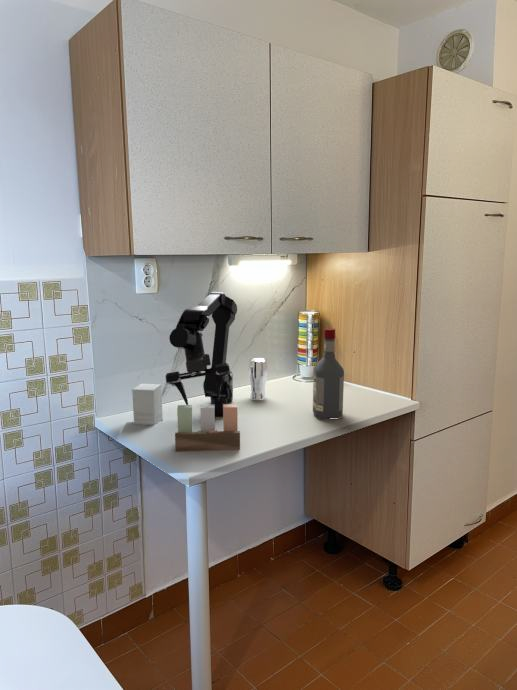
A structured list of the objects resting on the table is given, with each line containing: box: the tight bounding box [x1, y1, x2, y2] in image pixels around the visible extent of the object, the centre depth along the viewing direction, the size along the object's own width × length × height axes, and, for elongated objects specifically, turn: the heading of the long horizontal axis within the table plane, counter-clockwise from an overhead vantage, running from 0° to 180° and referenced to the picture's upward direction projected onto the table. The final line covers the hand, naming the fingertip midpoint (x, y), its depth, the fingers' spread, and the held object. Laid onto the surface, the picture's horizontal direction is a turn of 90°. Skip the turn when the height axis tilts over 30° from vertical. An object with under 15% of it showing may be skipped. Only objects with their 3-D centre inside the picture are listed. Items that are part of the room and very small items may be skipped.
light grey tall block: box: [199, 404, 216, 432], centre depth 155 cm, size 3×4×11 cm
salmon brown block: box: [222, 403, 239, 431], centre depth 156 cm, size 3×4×11 cm
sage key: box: [176, 404, 193, 432], centre depth 155 cm, size 3×4×11 cm
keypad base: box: [174, 429, 241, 452], centre depth 154 cm, size 8×18×6 cm, turn 95°
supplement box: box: [131, 383, 164, 426], centre depth 174 cm, size 7×7×13 cm
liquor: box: [312, 327, 345, 420], centre depth 181 cm, size 9×9×30 cm
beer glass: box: [248, 357, 268, 402], centre depth 203 cm, size 7×7×15 cm
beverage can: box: [227, 368, 234, 404], centre depth 199 cm, size 7×7×12 cm
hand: (203, 402), depth 158 cm, fingers open, 9 cm apart
